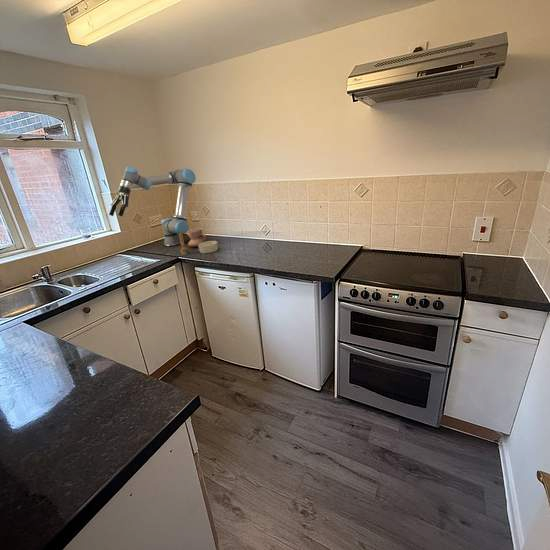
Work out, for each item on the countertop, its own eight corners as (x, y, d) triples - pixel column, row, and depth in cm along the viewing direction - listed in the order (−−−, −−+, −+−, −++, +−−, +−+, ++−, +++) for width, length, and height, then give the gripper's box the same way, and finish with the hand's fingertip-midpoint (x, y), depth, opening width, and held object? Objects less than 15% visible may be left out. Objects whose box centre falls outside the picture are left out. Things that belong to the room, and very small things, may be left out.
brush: (183, 252, 235) (178, 232, 230) (189, 252, 234) (185, 232, 229) (180, 254, 230) (175, 234, 225) (186, 254, 229) (182, 234, 224)
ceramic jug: (184, 248, 246) (180, 232, 241) (195, 243, 258) (192, 227, 253) (201, 249, 238) (198, 232, 233) (212, 244, 250) (209, 227, 245)
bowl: (203, 248, 240) (202, 241, 238) (221, 247, 237) (219, 240, 235) (196, 254, 226) (195, 246, 224) (214, 253, 224) (213, 245, 222)
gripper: (112, 185, 217) (102, 213, 214) (129, 184, 202) (118, 213, 199) (121, 190, 223) (112, 217, 220) (139, 190, 208) (129, 218, 205)
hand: (115, 215), depth 210 cm, fingers open, 13 cm apart
